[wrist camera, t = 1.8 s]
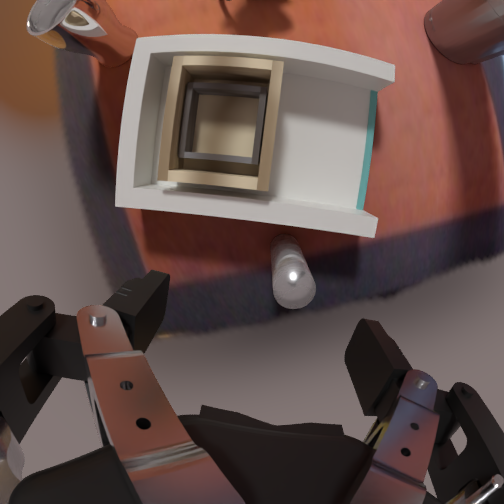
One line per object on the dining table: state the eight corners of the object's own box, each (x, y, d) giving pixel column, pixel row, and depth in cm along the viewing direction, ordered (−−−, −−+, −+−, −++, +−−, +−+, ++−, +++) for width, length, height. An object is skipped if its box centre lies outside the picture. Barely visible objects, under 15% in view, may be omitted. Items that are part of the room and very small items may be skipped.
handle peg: (301, 235, 34) (319, 272, 23) (296, 263, 35) (311, 310, 24) (272, 232, 34) (276, 267, 23) (268, 259, 35) (270, 306, 24)
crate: (280, 79, 27) (284, 61, 22) (267, 186, 31) (268, 191, 25) (188, 73, 27) (173, 56, 22) (175, 177, 31) (157, 180, 25)
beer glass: (111, 22, 26) (50, -22, 12) (151, 29, 27) (96, -26, 13) (87, 65, 28) (14, 36, 14) (126, 75, 29) (55, 39, 15)
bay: (373, 79, 28) (394, 65, 22) (355, 224, 34) (374, 238, 27) (157, 56, 28) (136, 38, 22) (139, 198, 34) (115, 206, 27)
